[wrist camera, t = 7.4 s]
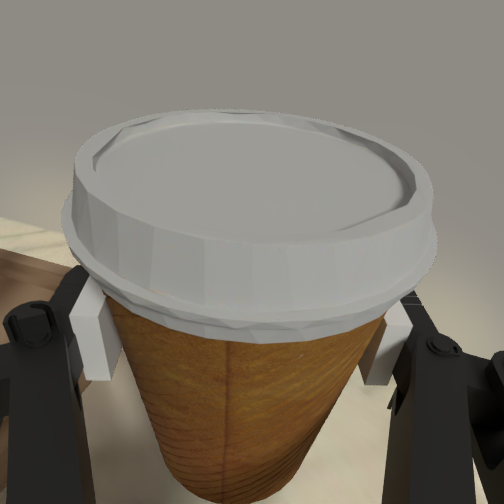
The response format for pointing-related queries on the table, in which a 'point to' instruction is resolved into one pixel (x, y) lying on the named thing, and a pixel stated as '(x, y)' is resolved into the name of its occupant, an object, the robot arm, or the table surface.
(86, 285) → the robot arm
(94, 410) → the table surface
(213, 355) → the disposable coffee cup
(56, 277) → the shallow wooden crate
